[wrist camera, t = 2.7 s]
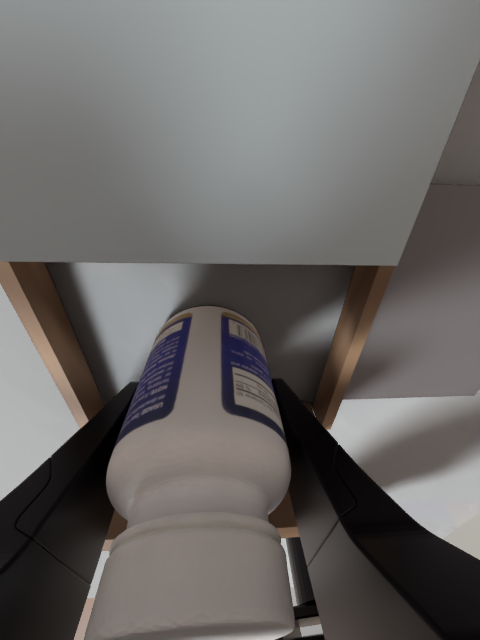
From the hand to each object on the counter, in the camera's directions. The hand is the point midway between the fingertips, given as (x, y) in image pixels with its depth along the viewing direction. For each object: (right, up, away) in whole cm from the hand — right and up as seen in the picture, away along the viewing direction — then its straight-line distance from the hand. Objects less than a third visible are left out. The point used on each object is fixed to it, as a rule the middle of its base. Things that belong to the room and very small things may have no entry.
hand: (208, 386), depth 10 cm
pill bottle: (0, +1, +2) cm, 3 cm away
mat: (+11, +3, +2) cm, 12 cm away
